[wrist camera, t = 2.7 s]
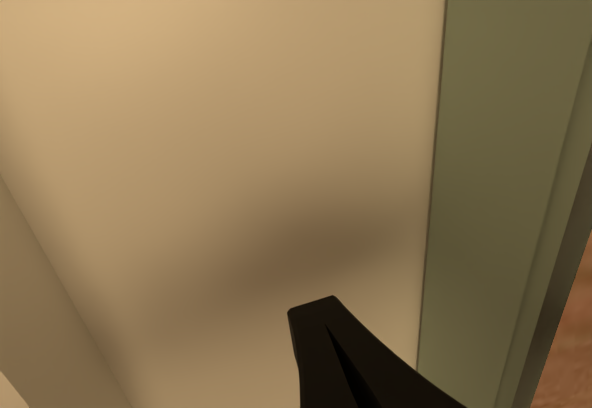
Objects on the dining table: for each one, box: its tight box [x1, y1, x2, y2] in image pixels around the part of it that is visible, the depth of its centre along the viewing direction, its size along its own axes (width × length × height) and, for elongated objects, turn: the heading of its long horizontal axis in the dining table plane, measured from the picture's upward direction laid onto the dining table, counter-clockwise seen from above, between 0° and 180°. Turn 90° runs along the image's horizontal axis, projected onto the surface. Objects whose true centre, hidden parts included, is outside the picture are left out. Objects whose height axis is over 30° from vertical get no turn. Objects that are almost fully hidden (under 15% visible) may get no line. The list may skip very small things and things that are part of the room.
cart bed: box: [0, 0, 448, 408], centre depth 13 cm, size 22×14×6 cm, turn 6°
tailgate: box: [418, 0, 592, 408], centre depth 13 cm, size 19×1×5 cm, turn 6°
